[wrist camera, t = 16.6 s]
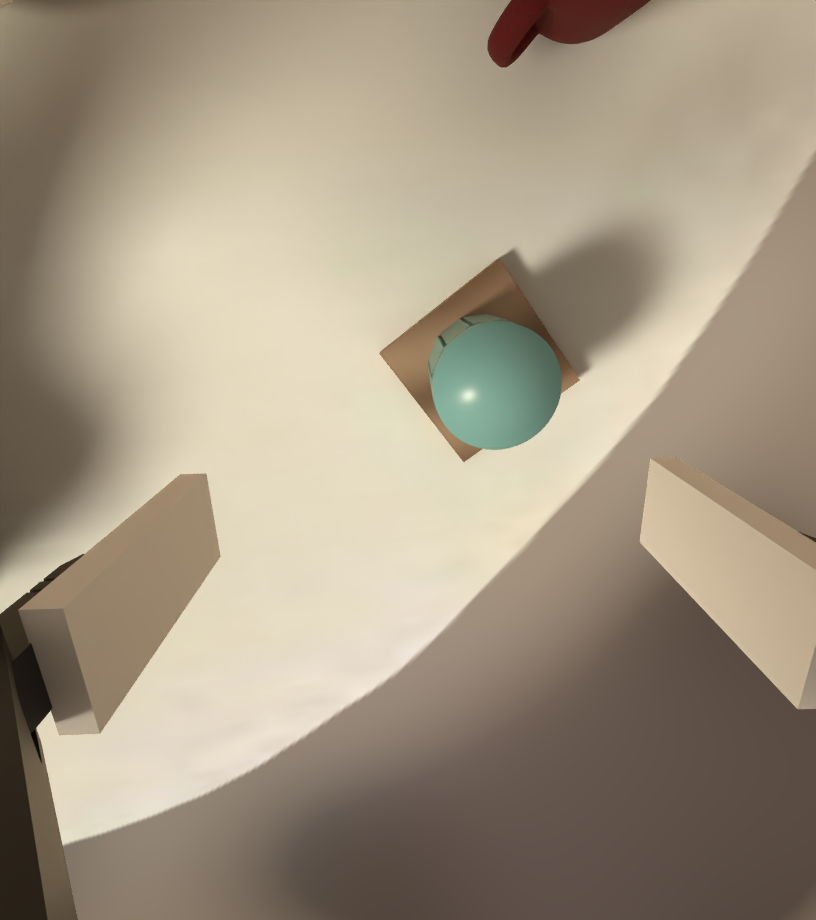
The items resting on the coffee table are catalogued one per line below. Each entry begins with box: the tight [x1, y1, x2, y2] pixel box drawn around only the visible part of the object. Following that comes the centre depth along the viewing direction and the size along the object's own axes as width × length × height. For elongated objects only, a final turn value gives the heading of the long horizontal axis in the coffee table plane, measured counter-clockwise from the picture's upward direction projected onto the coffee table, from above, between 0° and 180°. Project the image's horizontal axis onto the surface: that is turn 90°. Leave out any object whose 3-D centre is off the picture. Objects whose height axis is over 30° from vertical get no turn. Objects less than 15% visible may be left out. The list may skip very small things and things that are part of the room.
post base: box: [380, 259, 579, 462], centre depth 33 cm, size 10×10×7 cm
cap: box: [428, 314, 562, 450], centre depth 31 cm, size 7×7×8 cm
